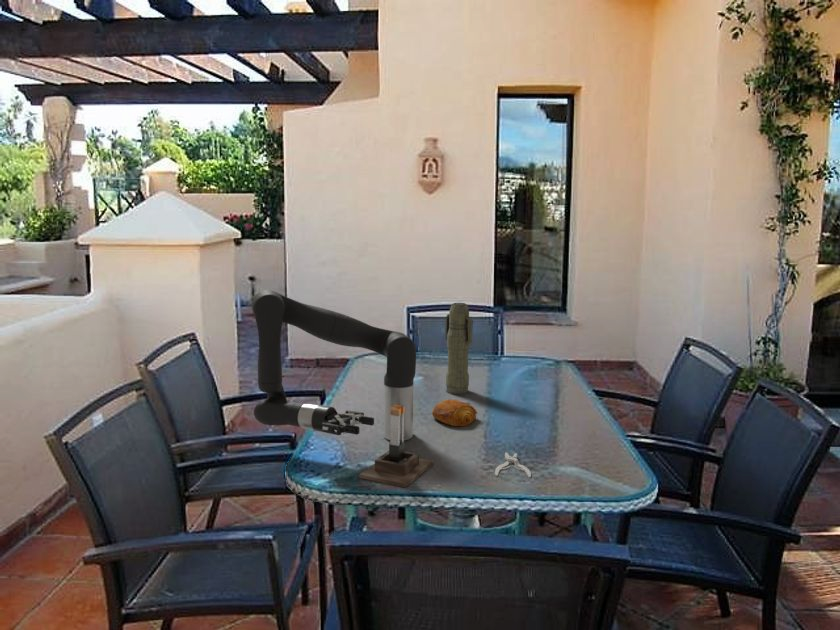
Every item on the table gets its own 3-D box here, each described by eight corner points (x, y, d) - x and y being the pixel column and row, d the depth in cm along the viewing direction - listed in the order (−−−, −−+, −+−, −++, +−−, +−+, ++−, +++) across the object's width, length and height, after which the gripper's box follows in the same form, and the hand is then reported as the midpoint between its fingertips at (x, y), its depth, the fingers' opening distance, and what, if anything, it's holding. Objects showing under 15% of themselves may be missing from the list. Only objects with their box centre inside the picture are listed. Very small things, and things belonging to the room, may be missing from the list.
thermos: (465, 396, 265) (467, 306, 259) (438, 391, 271) (440, 303, 265) (475, 391, 272) (478, 303, 266) (449, 386, 278) (451, 300, 272)
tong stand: (389, 455, 203) (389, 442, 202) (433, 464, 197) (433, 450, 197) (359, 477, 187) (359, 463, 186) (405, 487, 181) (406, 473, 180)
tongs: (394, 463, 195) (395, 403, 192) (407, 465, 193) (407, 405, 190) (386, 469, 190) (386, 408, 187) (398, 471, 189) (399, 410, 186)
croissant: (449, 436, 227) (451, 414, 225) (425, 416, 240) (426, 395, 237) (485, 427, 235) (487, 406, 232) (459, 409, 247) (461, 389, 245)
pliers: (495, 471, 189) (494, 451, 204) (495, 477, 190) (493, 457, 204) (531, 473, 189) (527, 453, 203) (531, 479, 189) (527, 458, 204)
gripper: (303, 412, 193) (353, 420, 187) (330, 399, 206) (378, 406, 200) (303, 437, 195) (353, 446, 188) (330, 423, 207) (378, 431, 201)
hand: (366, 426), depth 194 cm, fingers open, 8 cm apart
